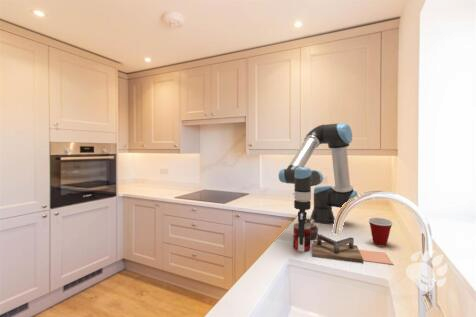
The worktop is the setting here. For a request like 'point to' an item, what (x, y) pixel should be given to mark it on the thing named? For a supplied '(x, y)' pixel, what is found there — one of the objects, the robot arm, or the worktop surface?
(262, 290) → the worktop surface
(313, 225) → the cupcake
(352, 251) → the wire board
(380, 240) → the plastic cup
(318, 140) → the robot arm
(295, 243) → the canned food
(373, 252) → the mat
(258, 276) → the worktop surface
